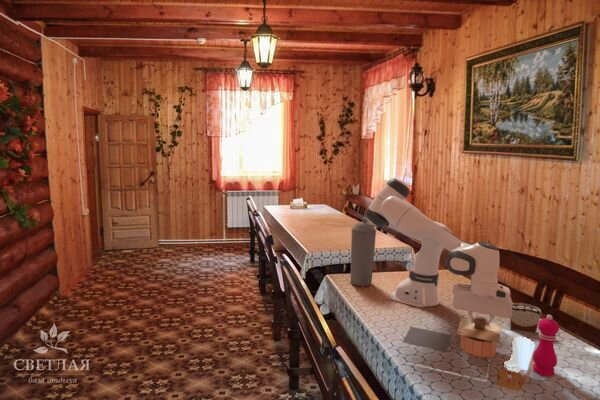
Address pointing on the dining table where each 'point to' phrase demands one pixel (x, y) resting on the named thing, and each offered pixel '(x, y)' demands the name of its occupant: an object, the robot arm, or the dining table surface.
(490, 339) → the lid
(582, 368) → the dining table surface
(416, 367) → the dining table surface
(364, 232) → the canister
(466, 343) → the bowl
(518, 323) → the food container
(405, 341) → the mat
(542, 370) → the pepper mill
